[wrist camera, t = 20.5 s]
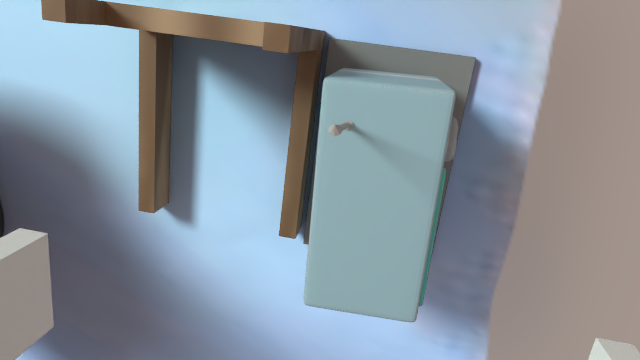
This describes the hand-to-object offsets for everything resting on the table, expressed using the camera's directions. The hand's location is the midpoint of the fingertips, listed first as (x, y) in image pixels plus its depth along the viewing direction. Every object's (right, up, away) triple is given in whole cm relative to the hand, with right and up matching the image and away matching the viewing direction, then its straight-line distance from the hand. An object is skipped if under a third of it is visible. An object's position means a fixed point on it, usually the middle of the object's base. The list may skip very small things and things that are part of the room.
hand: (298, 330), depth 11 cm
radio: (+6, +5, +29) cm, 31 cm away
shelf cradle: (-7, +9, +31) cm, 33 cm away
